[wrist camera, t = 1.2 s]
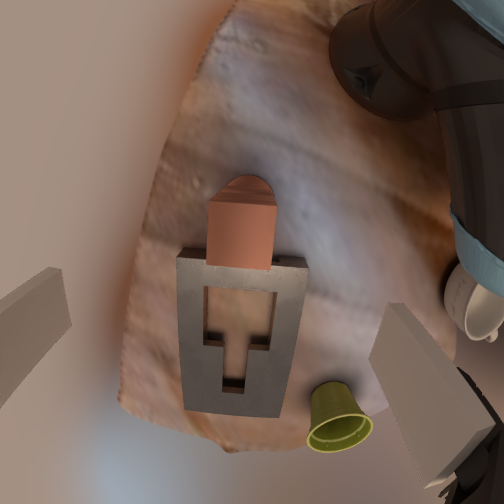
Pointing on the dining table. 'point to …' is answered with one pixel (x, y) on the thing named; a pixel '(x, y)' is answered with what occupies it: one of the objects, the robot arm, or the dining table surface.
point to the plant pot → (336, 419)
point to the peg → (242, 225)
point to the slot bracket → (212, 352)
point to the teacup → (473, 306)
